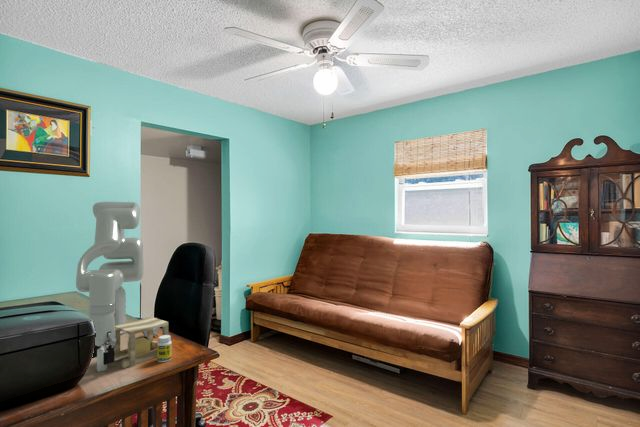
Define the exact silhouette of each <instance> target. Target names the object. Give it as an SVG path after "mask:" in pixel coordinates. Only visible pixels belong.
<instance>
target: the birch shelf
mask: <svg viewBox="0 0 640 427" xmlns="http://www.w3.org/2000/svg"><path fill="white" fill-rule="evenodd" d="M158 327H160V328H162V329H161V330H162V331H161V332H162V335H161V336H163V335H169V321H167V320H163V319H160V318H158V317H157V318H156V317H153V316H149V317H145V318H140V319H138V320H137V319H136V320H134V321H129V322H126V323H124V324H120V325H116V326H115V338H116V347H115V354H114V359H115V358H118V357H121V356H124V355H127V354H128V348H125V349H123V350H121V334H120V331H121V332H124V333H123V334H126V335H128V341H129V358H128V357H125V358H122V359H119V360H121V368H122V369H124V370H125V369H126V368H129V367H130V368H132V367H134V366H136V365H138V364H141V363H144V362H147V361H149V360H152V359H155V358H157V344H158V342H159V341H156V340H154V336H153V329H155V328H158ZM144 331H147V337H146V339H148V340H150V351H148V352H145V353H142V354H139V355H136V356H135V339H136V334H140V333H142V332H144ZM119 360H116V361H115V362H117V361H119Z"/></svg>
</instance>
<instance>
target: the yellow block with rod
mask: <svg viewBox="0 0 640 427" xmlns="http://www.w3.org/2000/svg"><path fill="white" fill-rule="evenodd" d="M127 349H128V354H127V355H124V356H121V357H118V358H115V359H114V362H117V361H119V359H120V360H123V359H126V358H129V340H128V341H127ZM148 351H151V349H150V340H148V339H147V338H145V337H143V336H142V337H139V338H135V356H136V355H139V354H142V353H145V352H148ZM104 352H105V351H104V348H103V347H101V348H99V349H97V357H96V372H99V373H100V372H101V373H102V372H105V371H107V370H108V364H107V365H104V364H103V353H104ZM125 357H126V358H125ZM122 358H123V359H122ZM116 360H117V361H116Z"/></svg>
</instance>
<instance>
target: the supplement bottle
mask: <svg viewBox="0 0 640 427" xmlns="http://www.w3.org/2000/svg"><path fill="white" fill-rule="evenodd" d="M157 342H158V344H157V357H156V361H157V362H158V363H166V362H168V361H169V362H170V361H171V360H172V355H173V354H172V349H173V348H172V346H173V345H172V344H173V343H172V340H171V335H170V334H168V335H163V336H162V335H160V336H158V341H157Z"/></svg>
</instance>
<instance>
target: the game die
mask: <svg viewBox="0 0 640 427" xmlns="http://www.w3.org/2000/svg"><path fill="white" fill-rule="evenodd" d="M155 318H157V319H158V317H157V316H156V317H155ZM160 328H161V327H158V328H155V329H153V337H157V338H159V336H158V333H159V330H160ZM141 333H142V335H143V336H144V338H145V339H147V331H144V332H141Z"/></svg>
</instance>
